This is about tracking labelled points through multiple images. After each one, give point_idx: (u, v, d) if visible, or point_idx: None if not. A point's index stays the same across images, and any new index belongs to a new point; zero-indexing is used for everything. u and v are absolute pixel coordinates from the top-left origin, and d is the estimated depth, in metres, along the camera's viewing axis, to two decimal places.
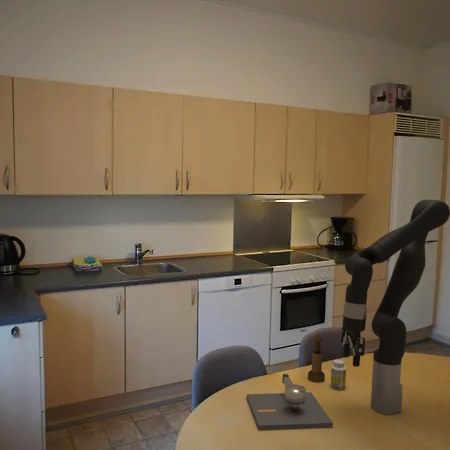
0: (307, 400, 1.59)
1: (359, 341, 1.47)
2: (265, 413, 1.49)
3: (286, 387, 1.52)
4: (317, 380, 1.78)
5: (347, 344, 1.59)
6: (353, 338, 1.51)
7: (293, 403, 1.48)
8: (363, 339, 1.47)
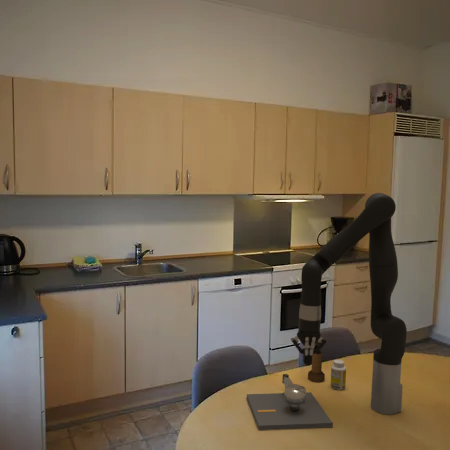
0: (307, 400, 1.59)
1: None
2: (265, 413, 1.49)
3: (286, 387, 1.52)
4: (317, 380, 1.78)
5: None
6: (316, 340, 1.59)
7: (293, 403, 1.48)
8: None
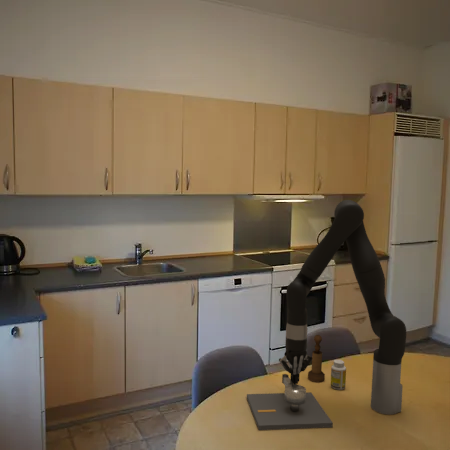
0: (307, 400, 1.59)
1: None
2: (265, 413, 1.49)
3: (286, 387, 1.52)
4: (317, 380, 1.78)
5: None
6: (303, 358, 1.60)
7: (293, 403, 1.48)
8: None
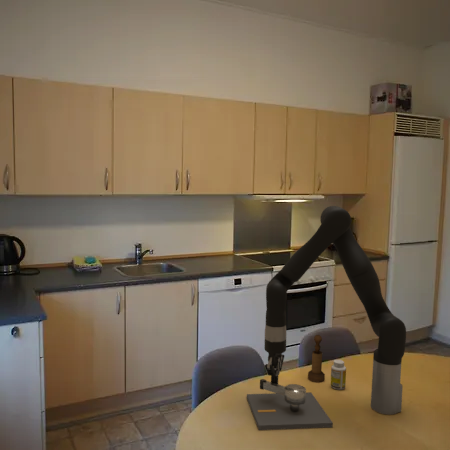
0: (307, 400, 1.59)
1: None
2: (265, 413, 1.49)
3: (288, 390, 1.49)
4: (317, 380, 1.78)
5: None
6: None
7: (301, 403, 1.48)
8: None
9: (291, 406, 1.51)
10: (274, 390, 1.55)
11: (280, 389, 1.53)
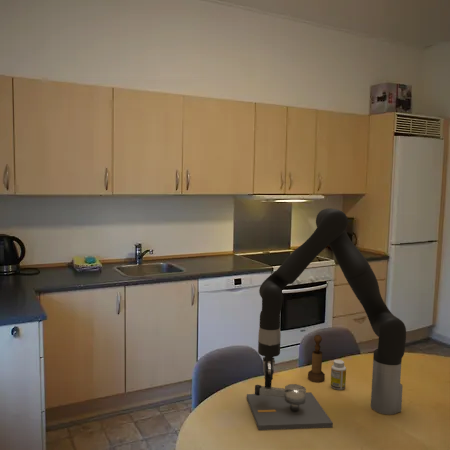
0: (307, 400, 1.59)
1: None
2: (265, 413, 1.49)
3: (291, 391, 1.48)
4: (317, 380, 1.78)
5: None
6: None
7: (304, 401, 1.49)
8: None
9: (292, 407, 1.50)
10: (272, 394, 1.52)
11: (279, 392, 1.51)
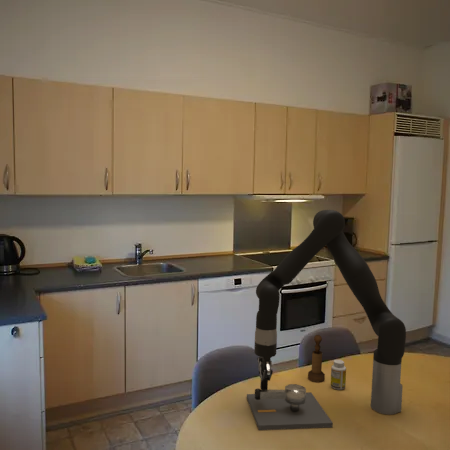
0: (307, 400, 1.59)
1: None
2: (265, 413, 1.49)
3: (294, 392, 1.48)
4: (317, 380, 1.78)
5: None
6: None
7: (305, 400, 1.50)
8: None
9: (294, 407, 1.50)
10: (273, 396, 1.50)
11: (280, 393, 1.50)
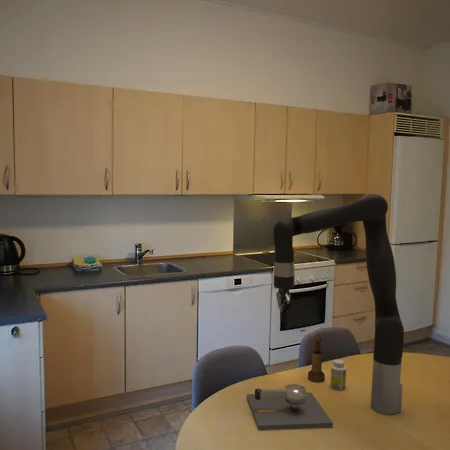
0: (307, 400, 1.59)
1: None
2: (265, 413, 1.49)
3: (294, 392, 1.48)
4: (317, 380, 1.78)
5: None
6: None
7: (305, 400, 1.50)
8: None
9: (294, 407, 1.50)
10: (273, 396, 1.50)
11: (280, 393, 1.50)
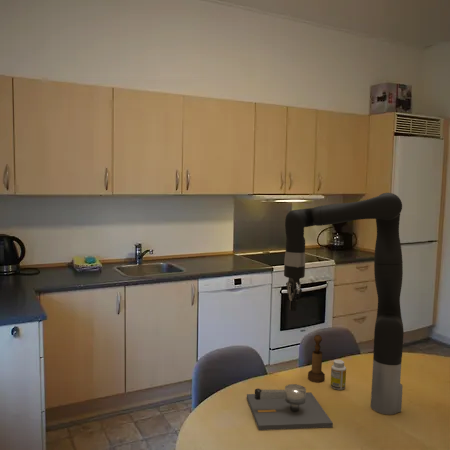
0: (307, 400, 1.59)
1: None
2: (265, 413, 1.49)
3: (294, 392, 1.48)
4: (317, 380, 1.78)
5: None
6: None
7: (305, 400, 1.50)
8: None
9: (294, 407, 1.50)
10: (273, 396, 1.50)
11: (280, 393, 1.50)
